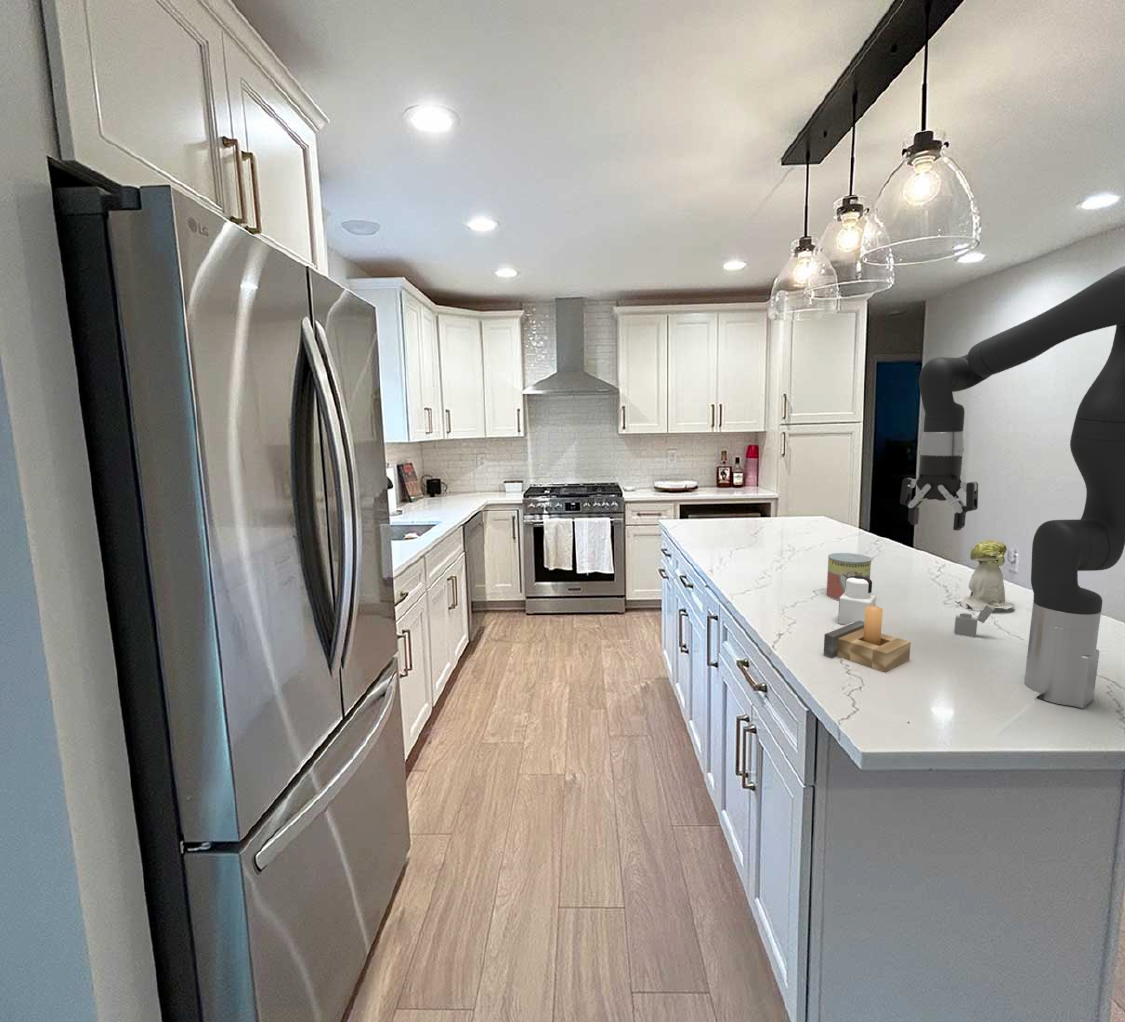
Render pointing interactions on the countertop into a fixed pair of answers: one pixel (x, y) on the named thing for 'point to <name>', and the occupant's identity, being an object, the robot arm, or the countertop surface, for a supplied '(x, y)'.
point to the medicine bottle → (855, 599)
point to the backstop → (833, 636)
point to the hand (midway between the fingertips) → (935, 527)
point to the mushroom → (987, 578)
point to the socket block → (874, 651)
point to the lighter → (971, 622)
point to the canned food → (845, 571)
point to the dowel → (873, 625)
